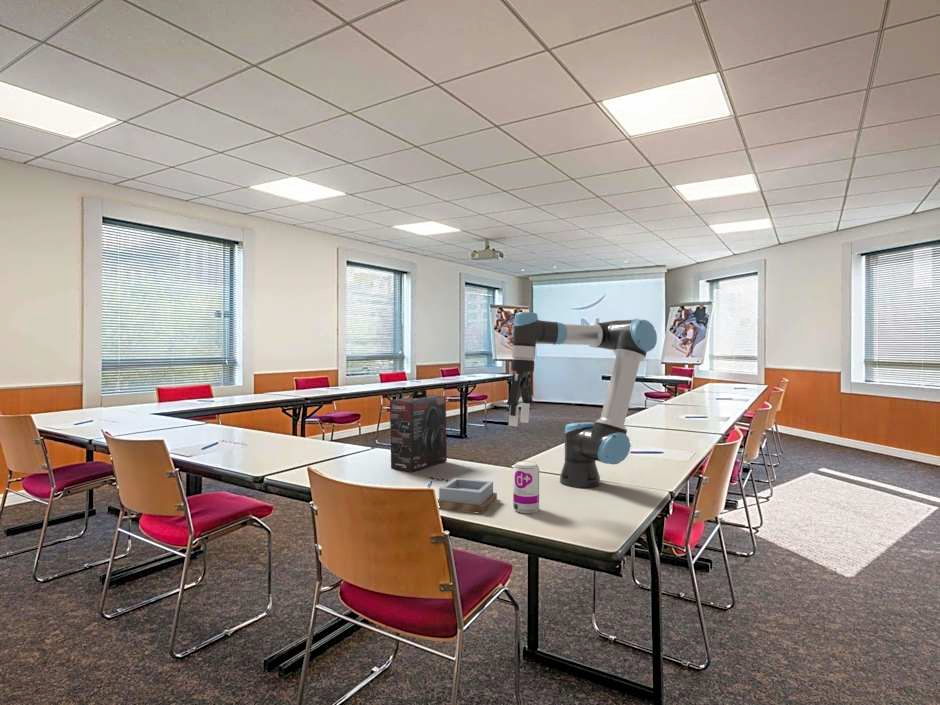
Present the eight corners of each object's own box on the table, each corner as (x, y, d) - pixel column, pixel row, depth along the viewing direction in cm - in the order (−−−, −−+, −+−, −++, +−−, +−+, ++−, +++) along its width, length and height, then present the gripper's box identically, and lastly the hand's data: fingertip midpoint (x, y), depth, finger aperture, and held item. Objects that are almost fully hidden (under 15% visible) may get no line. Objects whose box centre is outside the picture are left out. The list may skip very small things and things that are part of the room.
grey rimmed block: (493, 493, 179) (493, 481, 178) (480, 505, 165) (480, 492, 165) (454, 489, 183) (454, 477, 183) (439, 500, 170) (439, 488, 170)
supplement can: (532, 515, 162) (532, 467, 162) (508, 511, 167) (509, 464, 166) (543, 508, 169) (543, 462, 169) (520, 504, 174) (520, 459, 173)
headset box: (411, 472, 216) (411, 392, 215) (388, 468, 223) (388, 390, 222) (447, 462, 236) (447, 388, 235) (425, 458, 243) (426, 387, 242)
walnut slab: (496, 501, 179) (496, 492, 179) (482, 515, 164) (482, 506, 164) (453, 496, 185) (453, 488, 184) (435, 510, 169) (435, 501, 169)
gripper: (522, 359, 185) (518, 420, 184) (500, 357, 162) (495, 426, 161) (543, 361, 182) (539, 422, 182) (524, 358, 159) (519, 429, 158)
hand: (518, 424), depth 171 cm, fingers open, 13 cm apart
